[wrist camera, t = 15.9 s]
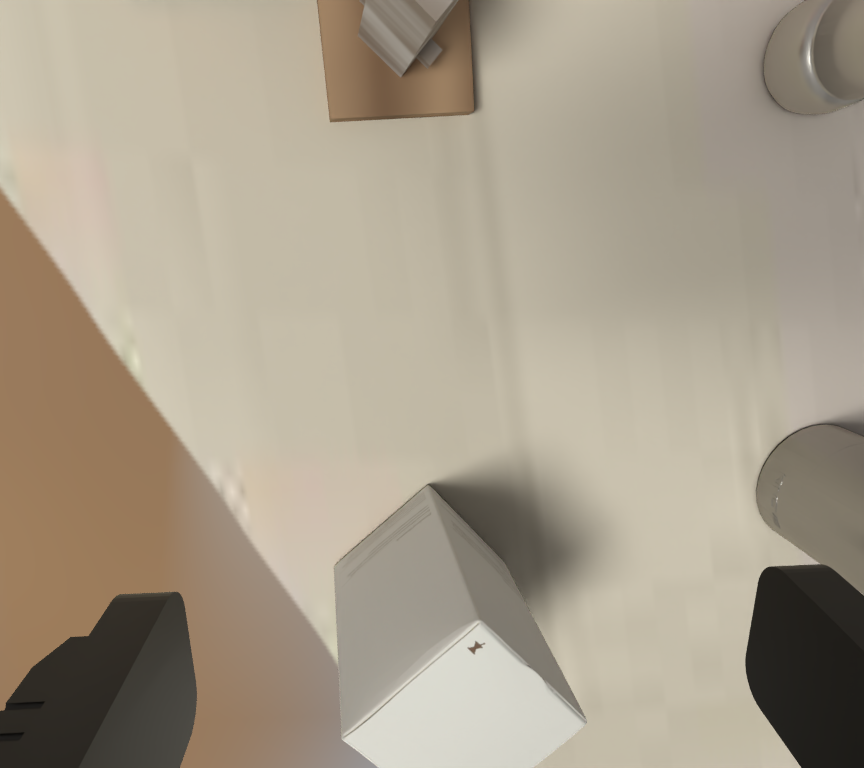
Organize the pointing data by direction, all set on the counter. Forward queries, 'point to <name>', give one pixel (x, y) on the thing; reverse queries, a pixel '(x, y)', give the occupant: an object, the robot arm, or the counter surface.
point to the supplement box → (443, 651)
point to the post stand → (396, 58)
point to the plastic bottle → (817, 57)
